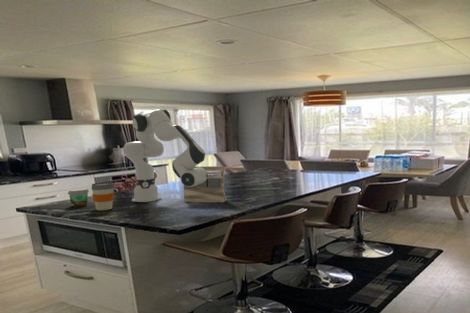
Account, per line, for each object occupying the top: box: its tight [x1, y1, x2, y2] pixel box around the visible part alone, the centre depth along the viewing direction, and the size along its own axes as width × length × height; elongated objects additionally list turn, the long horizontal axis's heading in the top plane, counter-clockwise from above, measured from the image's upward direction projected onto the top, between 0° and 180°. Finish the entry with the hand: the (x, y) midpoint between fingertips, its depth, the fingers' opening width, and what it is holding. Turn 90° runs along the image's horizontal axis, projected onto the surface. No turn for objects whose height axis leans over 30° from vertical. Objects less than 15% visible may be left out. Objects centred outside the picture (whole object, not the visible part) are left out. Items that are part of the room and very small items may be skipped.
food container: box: [67, 188, 90, 208], centre depth 225 cm, size 12×6×10 cm, turn 129°
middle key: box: [197, 178, 208, 187], centre depth 223 cm, size 5×6×5 cm
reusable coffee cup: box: [91, 181, 115, 211], centre depth 214 cm, size 13×12×15 cm
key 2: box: [209, 178, 221, 188], centre depth 221 cm, size 5×6×5 cm
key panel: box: [183, 165, 227, 203], centre depth 226 cm, size 7×26×22 cm, turn 76°
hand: (207, 172), depth 207 cm, fingers closed
